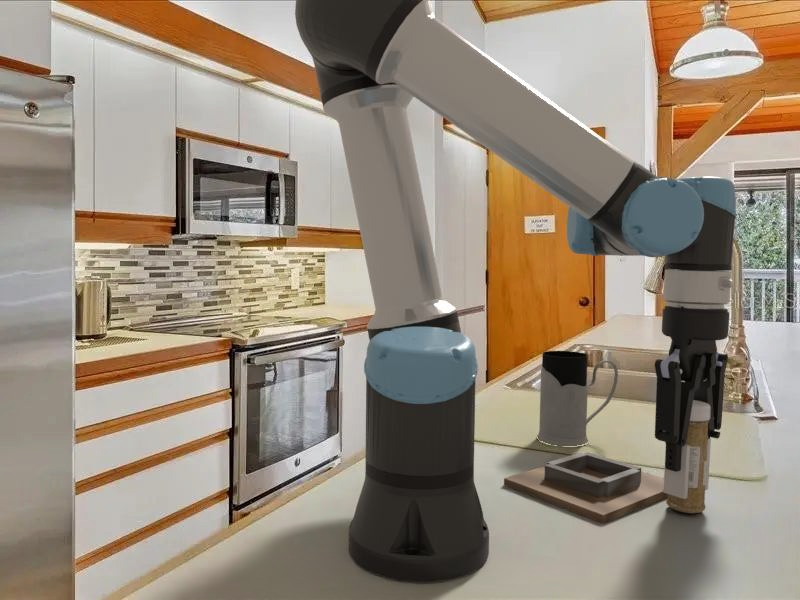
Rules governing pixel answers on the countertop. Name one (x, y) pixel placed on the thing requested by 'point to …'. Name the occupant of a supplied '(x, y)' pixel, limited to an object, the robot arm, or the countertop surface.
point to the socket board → (591, 486)
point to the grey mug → (566, 397)
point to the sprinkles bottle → (695, 461)
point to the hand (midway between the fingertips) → (685, 490)
